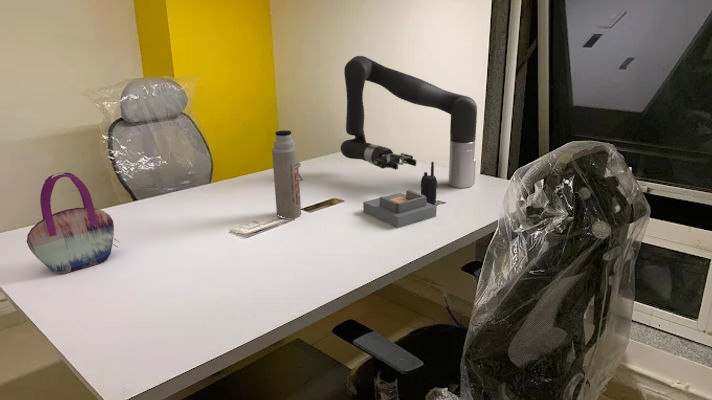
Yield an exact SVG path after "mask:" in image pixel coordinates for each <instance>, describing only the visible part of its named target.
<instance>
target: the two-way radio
mask: <svg viewBox="0 0 712 400" xmlns="http://www.w3.org/2000/svg"><path fill="white" fill-rule="evenodd" d="M434 166H435V163H434V161H431V165H430V175H428V172H427V171H424V172H423V175H422V177H421V180H420V194H422V195H425V197H427V201H426V202H427V203H430V204H432V205H435V204H436V203H437V191H438V190H437V188H438V179H437V177H436V175H435V167H434Z"/></svg>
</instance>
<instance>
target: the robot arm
mask: <svg viewBox="0 0 712 400" xmlns="http://www.w3.org/2000/svg"><path fill="white" fill-rule="evenodd" d="M343 73H344V83H345V88H346V89H345V90H346V117H345V118H346V120H345V131H346V133H347V135H350V136H353V137H354V138H350V139H347V140H344V141H342V143H341V145H340V152H341V154H342V155H343V156H344V157H345V158H346V159H351V160H361V161H365V162H367V163H370V164H371V165H374V166H375V167H378V168H380V169H393V170H398V169H399V165H402V166H403V165H405V164H406V165H410V166H413V167H416V166H417V160H416V159H414V155H411V154H408V153H402V152H401V153H400V154H397V153H394V152H393V150H392V149H390V148H388V147H386V146H383V145H380V144H373V143H370V142H367V140H366V136H365V130H364V128H365V127H364V126H365V108H364V107H365V106H364V101H363V100H364V99H363V97H364V96H363V95H364V87H365V84H366V81H367V82H369V83H370V82H371V83H373V84H376V85H379V86H381V87H383V88H384V89H385V90H387V91H388V92H389V93H391V94H392V95H394V96H395V97H396V98H398V99H400V100H404V102H409V103H411V104H413V105H417V106H423V107H429V108H433V109H437V110H440V111H442V112H445V113H447V114H449V115H450V126H449V127H450V129H449V134H450V135H449V137H450V139H449V140H450V141H449V158H448V159H449V160H448V161H449V162H448V185H449V186H450V187H453V188H458V189H459V188H460V189H461V188H462V189H463V188H465V189H466V188H471V187H473V186H474V185H475V181H476V166H477V165H476V164H477V161H476V159H475V154H476V153H475V151H476V149H475V148H476V135H477V118H478V107H477V103H476V101H475V100H474V99H473V98H472V97H470V96H468V95H463V94H460V93H455V92H452V91H448V90H445V89H442V88H440V87H438V86H437V85H434V84H432V83H430V82H428V81H426V80H423V79H421V78H419V77H416V76H413V75H411V74H407V73H405V72H402V71H399V70H396V69H394V68H390V67H388V66H385V65H382V64H380V63H379V62H377V61H374V60H373V59H370V58H369V57H366V56H364V55H356V56H354V57H352V58H351V59H349V60H348V61H347V63H346V64H345V66H344V71H343ZM400 161H401V162H400Z"/></svg>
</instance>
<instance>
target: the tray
mask: <svg viewBox="0 0 712 400" xmlns="http://www.w3.org/2000/svg"><path fill="white" fill-rule="evenodd" d="M426 201H427V197H425V195H422V194H421V193H419V192H416V191H413V190H411V189H406V190H405V193H402V192H397V193H393V194H390V195H389V194H388V195H386V196H379V197H377V198H374V199H370V200H366V201H363V205H362V206H363V207H362V208H363V213H365V214H367V215H369V214H370V215H369V216H371V215H372V217H373V216H374V218H376V219H378V220H380V221H382V222H384V223H387V224H389V225H391V226H393V227H394V228H395V227H396V228H397V229H399V228H402V227H406V226H409V225H411V224H412V225H413V224H416V223H419V222H422V221H425V220H428V219H431V218H436V217H437V207H438V206H437V205H435V204H430V203H427V202H426Z"/></svg>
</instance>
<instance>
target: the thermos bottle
mask: <svg viewBox="0 0 712 400" xmlns="http://www.w3.org/2000/svg"><path fill="white" fill-rule="evenodd" d="M275 139H276V140H275V141H274V142H273V145H272V146H273V148H272V149H271V152H272V153H271V155H272V169H273V181H274V182H273V183H274V193H275V194H274V195H275V207H276V208H275V209H276V216H277V215H279V216H282V217H285V218H292V219H291V220H293V219H297V218H300V217H301V215H302V207H301V189H300V188H301V187H300V178H299V174H300V171H299V167H298V162H299V154H298V148H297V147H296V142H295V140H293V138H292V131H291V130H286V129H285V130H284V129H283V130H278V131H275Z"/></svg>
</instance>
